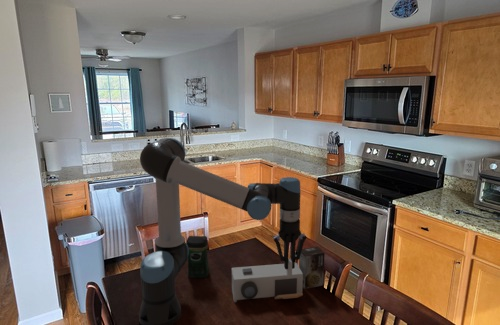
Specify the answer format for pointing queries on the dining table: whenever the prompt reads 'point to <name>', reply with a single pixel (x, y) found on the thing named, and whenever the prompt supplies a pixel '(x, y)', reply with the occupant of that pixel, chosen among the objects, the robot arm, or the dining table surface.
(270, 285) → the box
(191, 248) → the coffee jar
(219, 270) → the dining table surface
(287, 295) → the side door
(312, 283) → the coffee box
